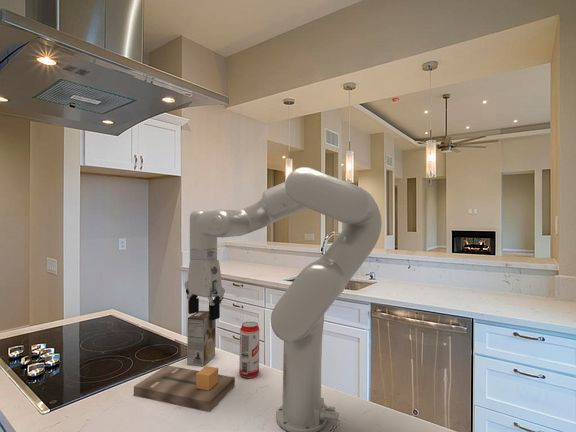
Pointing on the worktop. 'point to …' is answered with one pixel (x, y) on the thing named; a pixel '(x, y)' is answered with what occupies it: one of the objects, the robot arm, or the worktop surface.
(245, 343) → the beer can
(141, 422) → the worktop surface
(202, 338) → the coffee box
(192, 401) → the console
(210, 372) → the block
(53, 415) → the worktop surface
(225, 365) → the worktop surface
